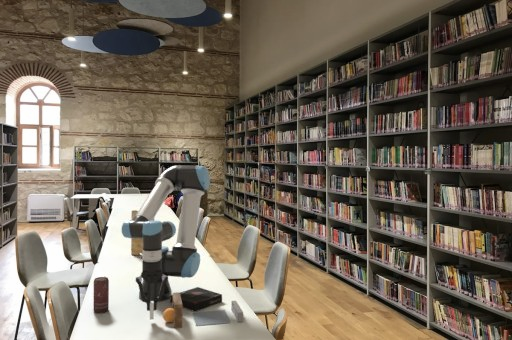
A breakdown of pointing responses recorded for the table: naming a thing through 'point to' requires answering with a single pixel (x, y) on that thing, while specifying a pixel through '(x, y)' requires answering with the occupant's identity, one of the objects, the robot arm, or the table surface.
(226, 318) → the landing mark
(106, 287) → the can
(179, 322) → the bridge
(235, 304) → the stopper
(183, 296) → the portable cd player
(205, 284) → the table surface
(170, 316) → the ball
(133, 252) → the parchment
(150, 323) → the table surface
